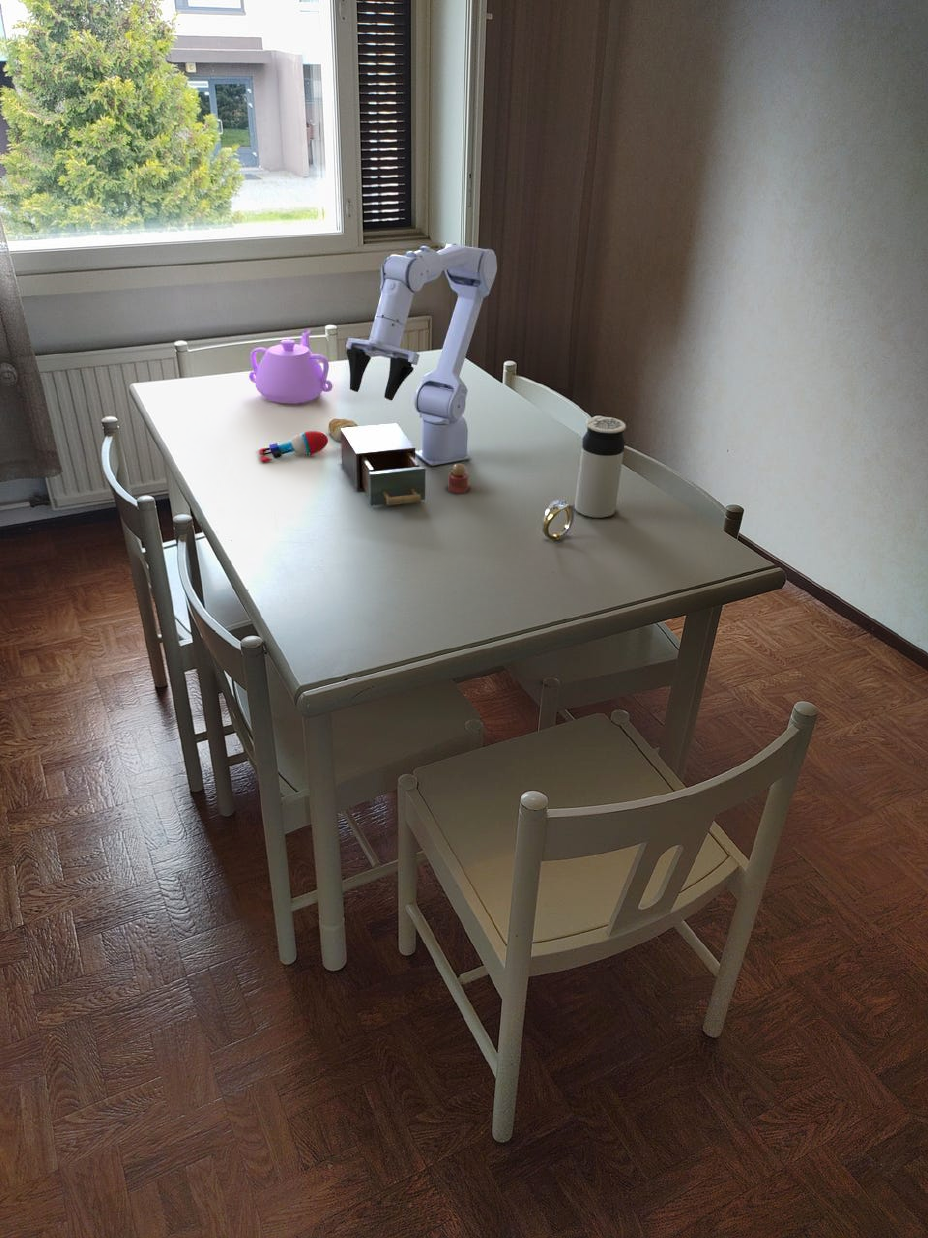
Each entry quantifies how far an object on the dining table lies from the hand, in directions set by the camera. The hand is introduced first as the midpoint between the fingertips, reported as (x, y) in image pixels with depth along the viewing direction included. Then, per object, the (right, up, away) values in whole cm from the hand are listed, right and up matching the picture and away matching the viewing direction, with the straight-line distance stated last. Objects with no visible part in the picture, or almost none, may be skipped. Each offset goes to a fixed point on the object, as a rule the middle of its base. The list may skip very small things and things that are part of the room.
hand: (370, 394), depth 169 cm
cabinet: (-1, -11, +21) cm, 24 cm away
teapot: (-25, +15, +61) cm, 68 cm away
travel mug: (+43, -20, +11) cm, 49 cm away
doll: (+16, -15, +17) cm, 28 cm away
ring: (+35, -27, 0) cm, 44 cm away
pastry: (-10, 0, +39) cm, 40 cm away
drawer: (+3, -17, +12) cm, 21 cm away
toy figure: (-20, -6, +29) cm, 35 cm away
